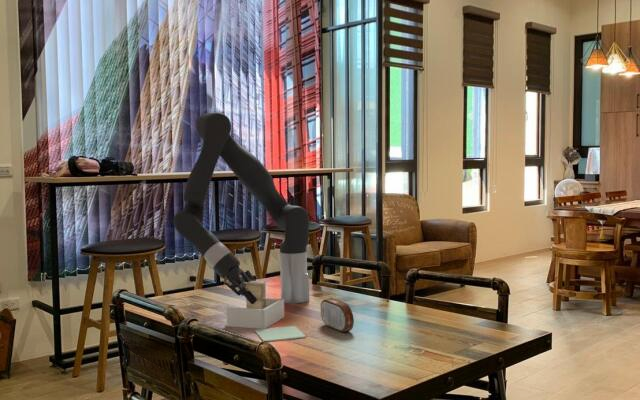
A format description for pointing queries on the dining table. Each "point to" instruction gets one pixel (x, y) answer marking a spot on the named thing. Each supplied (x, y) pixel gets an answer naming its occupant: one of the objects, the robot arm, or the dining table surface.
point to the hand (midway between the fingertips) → (258, 300)
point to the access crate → (256, 315)
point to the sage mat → (280, 333)
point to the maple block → (257, 294)
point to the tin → (337, 315)
